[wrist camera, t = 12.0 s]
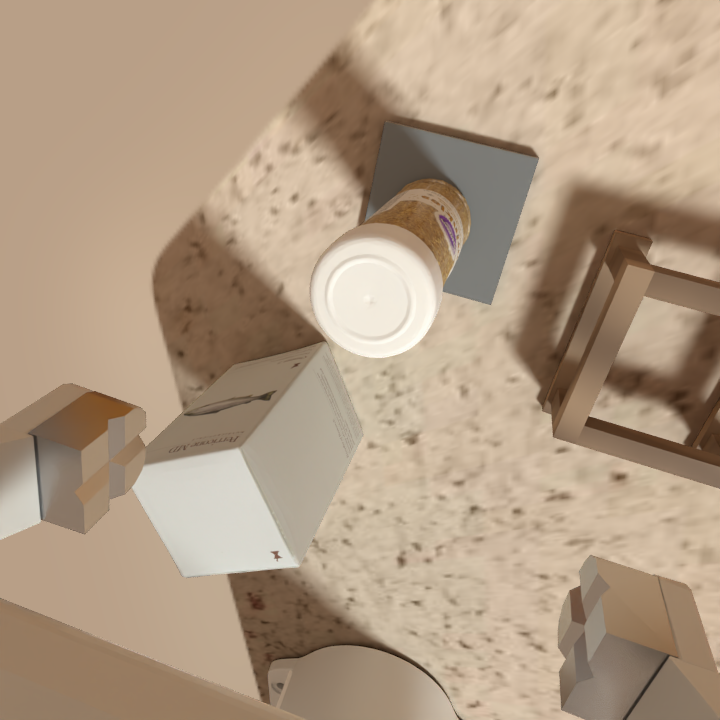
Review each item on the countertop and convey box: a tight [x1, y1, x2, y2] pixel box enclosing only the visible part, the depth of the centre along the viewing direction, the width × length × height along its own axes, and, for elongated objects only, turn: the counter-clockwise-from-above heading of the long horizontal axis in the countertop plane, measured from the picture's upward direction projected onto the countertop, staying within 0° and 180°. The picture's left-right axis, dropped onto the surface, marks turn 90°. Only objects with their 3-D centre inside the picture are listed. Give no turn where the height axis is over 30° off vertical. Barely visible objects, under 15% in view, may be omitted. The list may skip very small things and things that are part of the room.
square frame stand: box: [542, 230, 720, 489], centre depth 30 cm, size 11×10×4 cm
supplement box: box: [131, 342, 364, 578], centre depth 34 cm, size 7×7×13 cm
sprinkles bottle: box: [310, 179, 471, 358], centre depth 26 cm, size 5×5×14 cm
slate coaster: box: [365, 121, 539, 305], centre depth 32 cm, size 8×8×1 cm
